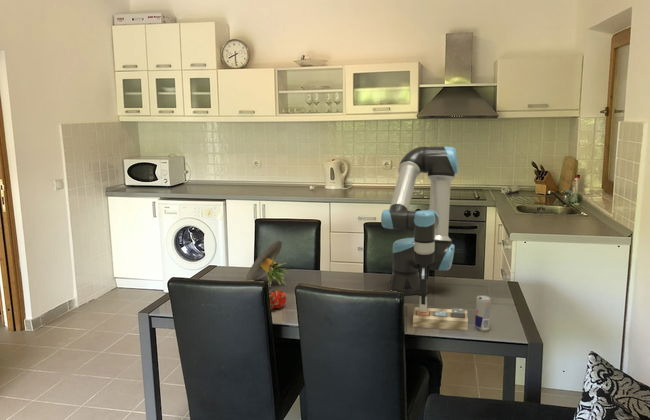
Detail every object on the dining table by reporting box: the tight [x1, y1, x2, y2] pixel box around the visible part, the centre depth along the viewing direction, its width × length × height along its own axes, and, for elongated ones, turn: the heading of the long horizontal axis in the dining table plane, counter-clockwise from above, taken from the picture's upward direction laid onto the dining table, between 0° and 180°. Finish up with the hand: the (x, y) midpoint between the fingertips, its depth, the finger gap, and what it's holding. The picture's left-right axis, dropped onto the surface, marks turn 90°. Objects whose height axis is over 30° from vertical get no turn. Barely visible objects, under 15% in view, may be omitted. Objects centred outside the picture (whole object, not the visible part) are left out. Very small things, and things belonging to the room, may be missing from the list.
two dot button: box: [451, 307, 465, 318], centre depth 204 cm, size 4×4×3 cm
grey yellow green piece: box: [245, 240, 292, 288], centre depth 252 cm, size 25×18×25 cm
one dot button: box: [417, 310, 429, 316], centre depth 207 cm, size 4×4×3 cm
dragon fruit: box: [268, 289, 288, 310], centre depth 225 cm, size 8×8×12 cm
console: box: [412, 306, 469, 331], centre depth 206 cm, size 20×11×4 cm, turn 77°
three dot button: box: [434, 311, 447, 317], centre depth 206 cm, size 4×4×3 cm
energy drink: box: [474, 294, 492, 332], centre depth 199 cm, size 5×5×12 cm
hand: (423, 311), depth 207 cm, fingers closed
